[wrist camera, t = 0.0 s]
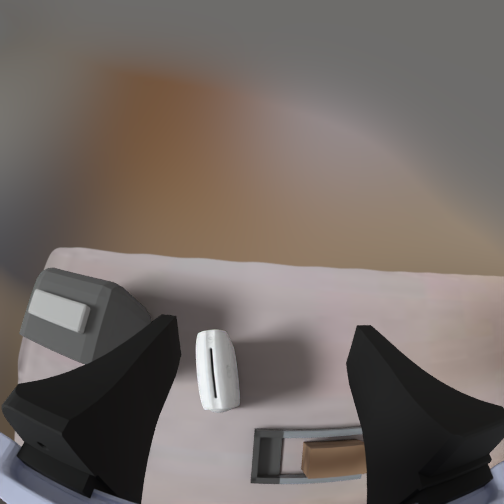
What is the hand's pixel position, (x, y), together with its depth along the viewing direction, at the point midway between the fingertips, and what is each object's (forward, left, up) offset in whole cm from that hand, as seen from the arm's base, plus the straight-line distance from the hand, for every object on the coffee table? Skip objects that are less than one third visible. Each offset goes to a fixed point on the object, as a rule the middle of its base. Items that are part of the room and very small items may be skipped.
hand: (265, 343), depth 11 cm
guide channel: (-12, -8, -32) cm, 35 cm away
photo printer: (0, +5, -33) cm, 33 cm away
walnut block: (-12, -11, -32) cm, 36 cm away
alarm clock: (+4, +25, -33) cm, 41 cm away
